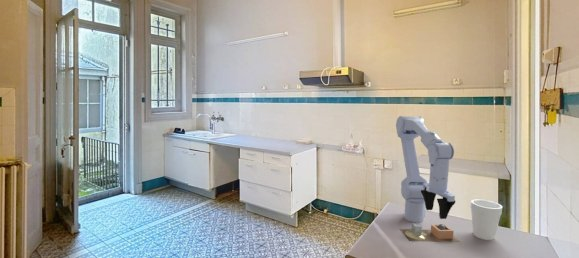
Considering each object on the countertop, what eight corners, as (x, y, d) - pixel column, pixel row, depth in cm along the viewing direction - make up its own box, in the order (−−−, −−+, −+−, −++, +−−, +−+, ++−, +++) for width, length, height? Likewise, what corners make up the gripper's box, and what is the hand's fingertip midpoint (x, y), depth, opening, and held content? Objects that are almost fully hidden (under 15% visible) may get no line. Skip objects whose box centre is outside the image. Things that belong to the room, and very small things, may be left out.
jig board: (446, 232, 109) (446, 230, 109) (460, 244, 100) (460, 241, 100) (399, 231, 109) (399, 229, 109) (408, 243, 100) (409, 240, 100)
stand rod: (439, 233, 106) (439, 223, 106) (445, 235, 105) (446, 225, 104) (437, 235, 105) (438, 225, 104) (444, 237, 103) (444, 227, 103)
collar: (430, 232, 107) (431, 224, 107) (444, 232, 107) (444, 224, 107) (438, 239, 102) (439, 231, 102) (452, 238, 102) (453, 230, 102)
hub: (401, 230, 108) (401, 220, 108) (420, 230, 109) (421, 220, 108) (411, 240, 101) (411, 230, 100) (432, 239, 101) (432, 229, 101)
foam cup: (496, 235, 107) (499, 202, 106) (502, 247, 99) (505, 210, 98) (466, 230, 111) (469, 197, 110) (469, 240, 103) (473, 205, 102)
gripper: (416, 171, 108) (413, 206, 109) (442, 183, 94) (439, 223, 95) (433, 171, 109) (430, 205, 110) (461, 182, 95) (458, 222, 96)
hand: (435, 213), depth 103 cm, fingers open, 7 cm apart
